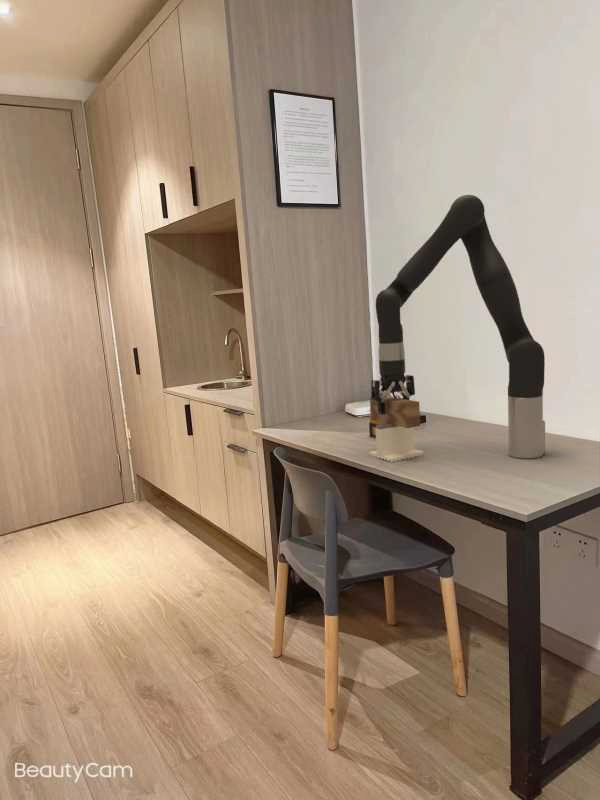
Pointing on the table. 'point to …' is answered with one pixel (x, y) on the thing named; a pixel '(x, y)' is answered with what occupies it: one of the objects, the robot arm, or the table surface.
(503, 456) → the table surface
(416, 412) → the walnut beam
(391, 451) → the ridge stand
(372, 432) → the ammunition clip
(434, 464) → the table surface
